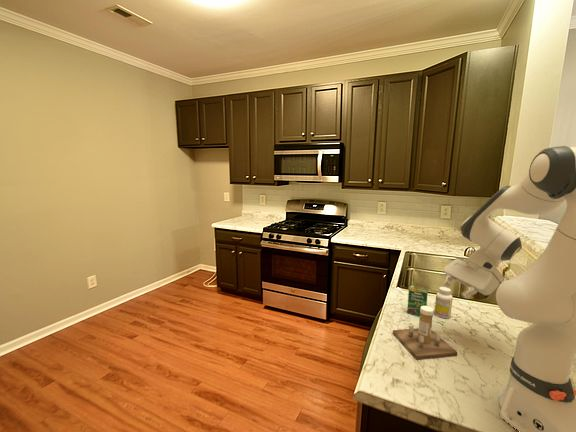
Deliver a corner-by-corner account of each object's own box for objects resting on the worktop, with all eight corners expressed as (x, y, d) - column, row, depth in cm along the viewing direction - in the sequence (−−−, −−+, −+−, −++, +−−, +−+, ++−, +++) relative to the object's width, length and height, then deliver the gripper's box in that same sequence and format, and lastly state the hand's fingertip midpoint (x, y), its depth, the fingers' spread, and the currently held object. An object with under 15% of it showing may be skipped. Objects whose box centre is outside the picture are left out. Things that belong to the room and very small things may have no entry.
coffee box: (406, 313, 130) (408, 286, 128) (407, 310, 133) (409, 284, 131) (425, 318, 126) (428, 291, 124) (425, 315, 129) (428, 288, 126)
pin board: (456, 355, 101) (458, 341, 100) (416, 359, 98) (418, 345, 97) (428, 330, 116) (429, 318, 115) (392, 333, 114) (393, 321, 113)
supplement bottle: (440, 310, 134) (443, 284, 132) (453, 316, 128) (457, 290, 126) (430, 313, 131) (433, 287, 129) (444, 319, 125) (447, 293, 123)
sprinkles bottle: (433, 342, 106) (436, 309, 104) (424, 345, 104) (427, 312, 102) (422, 336, 110) (426, 304, 108) (414, 338, 108) (417, 306, 106)
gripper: (454, 251, 115) (430, 275, 115) (499, 269, 95) (470, 297, 95) (463, 261, 116) (439, 285, 116) (508, 280, 96) (480, 309, 96)
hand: (453, 291), depth 105 cm, fingers open, 8 cm apart
